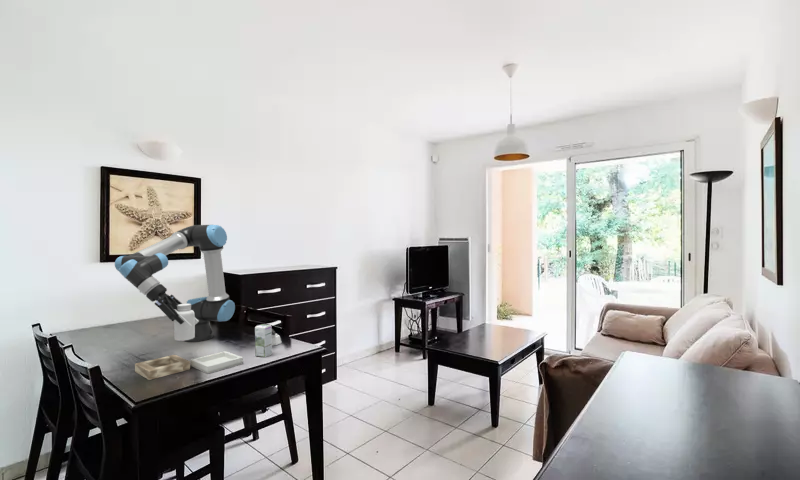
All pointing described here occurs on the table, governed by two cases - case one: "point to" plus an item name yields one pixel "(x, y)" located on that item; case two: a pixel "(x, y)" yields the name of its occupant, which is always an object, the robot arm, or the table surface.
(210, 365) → the tray
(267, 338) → the syrup box
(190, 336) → the pill bottle
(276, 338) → the inkwell
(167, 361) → the holder
